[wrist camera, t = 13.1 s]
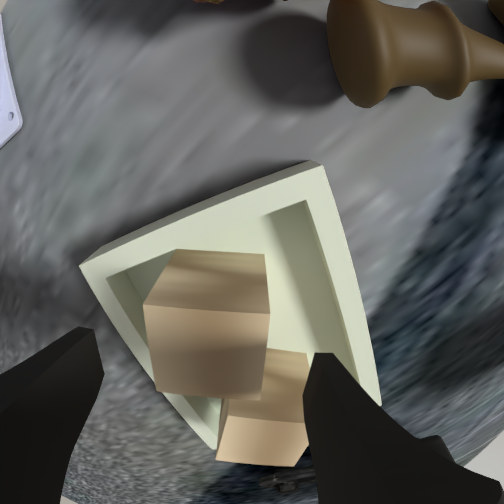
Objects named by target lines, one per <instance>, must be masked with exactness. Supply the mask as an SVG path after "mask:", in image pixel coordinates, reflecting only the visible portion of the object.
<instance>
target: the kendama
mask: <svg viewBox="0 0 504 504" xmlns="http://www.w3.org/2000/svg"><path fill="white" fill-rule="evenodd" d="M487 5H488V8H489V9H490V10H491V12H492V13H493V14H494V15H495V16H496V18H497V19H498V20H499V21H500V22H501V23H502V25H503V26H504V0H489V1H488V3H487ZM327 40H328V46H329V52H330V58H331V61H332V64H333V67H334V71H335V74H336V76H337V78H338V80H339V83H340V85H341V87H342V89H343V91H344V93H345V94H346V96H347V97H348V98H349V100H350V101H351V102H352V103H353V104H355V105H356V106H359V107H362V108H371V107H373V106H374V105H376V104H377V103H379V102H380V101H382V100H383V99H384V98H385V97H386V95H387V93H388V92H389V90H390V89H391V88H395V87H400V86H421V87H424V88H426V89H427V90H428V91H429V92H430V93H432V94H433V95H434V96H436V97H439V98H442V99H445V100H451V99H454V98H456V97H459V96H461V94H462V93H463V91H464V90H465V88H466V87H467V85H468V84H469V82H472V81H478V80H486V79H504V44H503V43H501V42H499V41H496V40H494V39H492V38H490V37H488V36H485V35H483V34H481V33H479V32H477V31H474V30H472V29H470V28H468V27H467V26H465V25H463V24H462V23H461V22H460V21H459V20H458V18H457V17H456V16H455V14H454V13H453V12H452V10H451V9H450V8H449V7H448V6H446V5H444V4H441V3H439V2H436V1H431V2H427V3H424V4H422V5H420V6H419V7H418V8H417V9H412V8H403V7H397V6H392V5H388V4H384V3H382V2H380V1H378V0H330V3H329V6H328V11H327Z"/></svg>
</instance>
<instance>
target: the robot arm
mask: <svg viewBox="0 0 504 504" xmlns="http://www.w3.org/2000/svg"><path fill="white" fill-rule="evenodd" d="M13 113H14V117H13V119H12V115H13ZM22 122H23V121H22V116H21V113H20V109H19V106H18V102H17V98H16V94H15V90H14V86H13V82H12V78H11V73H10V68H9V64H8V58H7V53H6V47H5V41H4V34H3V27H2V18H1V13H0V148H1V147H2V146H3V145H5V144H6V143H7V142H8V141H9V140H10V139H11V138H12V137H13V136H14V135H15V134H16V133H17V132H18V131H19V130H20V129H21V127H22ZM103 377H104V370H103V367H102V363H101V359H100V355H99V351H98V346H97V342H96V338H95V333H94V330H93V329H88V328H83V327H77V328H75V329H73V330H72V331H70V332H68V333H67V334H65V335H64V336H62V337H61V338H59V339H58V340H56V341H54V342H53V343H51V344H50V345H48V346H47V347H45V348H44V349H42V350H41V351H39V352H38V353H36V354H35V355H33V356H31V357H30V358H28V359H26V360H25V361H23V362H21V363H20V364H18V365H16V366H15V367H13V368H11V369H10V370H8V371H6V372H4V373H2V374H0V504H60V498H61V494H62V489H63V484H64V479H65V475H66V471H67V468H68V464H69V461H70V457H71V454H72V451H73V449H74V446H75V444H76V442H77V439H78V437H79V435H80V433H81V431H82V429H83V426H84V424H85V422H86V420H87V418H88V416H89V414H90V411H91V409H92V407H93V405H94V403H95V401H96V399H97V396H98V393H99V390H100V387H101V384H102V380H103ZM302 398H303V412H304V422H305V427H306V432H307V437H308V442H309V447H310V451H311V456H312V461H313V465H314V470H315V475H316V481H317V488H318V501H319V504H504V491H503V489H502V486H501V484H500V482H499V481H497V480H494V479H491V478H489V477H486V476H483V475H480V474H478V473H475V472H472V471H470V470H468V469H466V468H464V467H462V466H460V465H458V464H456V463H454V462H452V461H450V460H449V459H447V458H445V457H443V456H442V455H440V454H438V453H437V452H435V451H434V450H432V449H431V448H429V447H428V446H426V445H425V444H423V443H422V442H420V441H419V440H418V439H416V438H415V437H414V436H412V435H411V434H410V433H409V432H407V431H406V430H405V429H404V428H403V427H401V426H400V425H399V424H398V423H397V422H396V421H394V420H393V419H392V418H391V417H390V416H389V415H388V414H387V413H386V412H385V411H384V410H383V409H382V408H381V407H380V406H379V405H378V404H377V403H376V402H375V401H374V400H373V399H372V398H371V397H370V396H369V394H368V393H367V392H366V391H365V390H364V389H363V388H362V387H361V386H360V384H359V383H358V382H357V381H356V380H355V379H354V377H353V376H352V375H351V374H350V373H349V371H348V370H347V369H346V368H345V367H344V365H343V364H342V363H341V362H340V361H339V359H338V358H337V357H336V356H335V355H334V353H317V352H315V353H314V357H313V360H312V364H311V367H310V371H309V374H308V378H307V381H306V385H305V388H304V392H303V395H302Z"/></svg>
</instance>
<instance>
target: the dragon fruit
mask: <svg viewBox="0 0 504 504" xmlns="http://www.w3.org/2000/svg"><path fill="white" fill-rule="evenodd" d="M193 1H194V2H202V3H203V2H211V3H214V4H219V3H221V2H222V1H224V0H193ZM283 1H287V0H283Z"/></svg>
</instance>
